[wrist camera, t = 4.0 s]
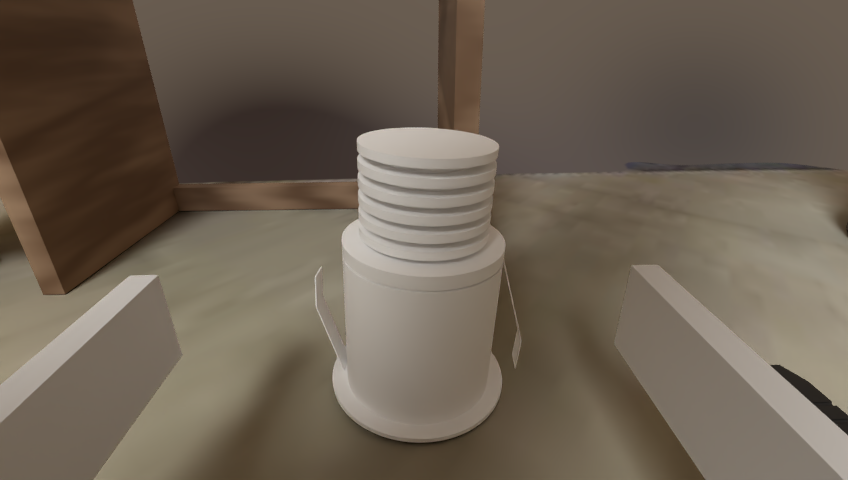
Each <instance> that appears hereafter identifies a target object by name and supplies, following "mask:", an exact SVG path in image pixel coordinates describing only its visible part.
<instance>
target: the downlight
mask: <svg viewBox="0 0 848 480" xmlns="http://www.w3.org/2000/svg"><path fill="white" fill-rule="evenodd" d="M357 151H358V153H359V155H358V157H357V167H358V170H359V173H358V187H359V190H358V202H359V208H358V212H359V219H357V220H355V221H354V222H352V223H351V224H350V225H348V226H347V228H346V229H345V230H344V232H343V234H342V258H343V280H344V303H345V326H346V346H344V344H343V341H342V339H341V337H340V334H339V332H338V330H337V327H336V325H335V322H334V320H333V318H332V315H331V313H330V311H329V308H328V306H327V304H326V301H325V299H324V296H323V275H322V266H321V267H320V269H319V270H318V272H317V274H316V276H315V300H316V309H317V311H318V314H319V316H320V318H321V321H322V323H323V325H324V327H325V330H326V332H327V334H328V337H329V339H330V341H331V343H332V346H333V348H334V350H335V353H336V355H337V359H336V361H335V364H334V368H333V374H332V380H333V389H334V393H335V396H336V398H337V401H338V403H339V404H340V406H341V408H342V409H343V410H344V411H345V413H346V414H347V415H348V416H349V417H350V418H351V419H352V420H354V421H355V422H356V423H357V424H359V425H360V426H362V427H363V428H365V429H367V430H369V431H371V432H373V433H375V434H377V435H380V436H383V437H386V438H389V439H393V440H398V441H404V442H418V443H422V442H435V441H442V440H446V439H450V438H453V437H456V436H459V435H461V434H464V433H466V432H468V431H470V430H472V429H473V428H475V427H476V426H478V425H479V424H481V423H482V422H483V421H484V420H485V419H486V418H487V417H488V416H489V415H490V414H491V413H492V411H493V410H494V408H495V407H496V405H497V403H498V400H499V397H500V394H501V389H502V374H501V369H500V366H499V364H498V362H497V360H496V358H495V356H494V355H493V353H492V352H491V349H492V342H493V334H494V327H495V320H496V312H497V305H498V298H499V290H500V283H501V276H502V268H503V264H504V269H505V273H506V278H507V282H508V287H509V292H510V296H511V301H512V306H513V310H514V315H515V319H516V324H517V332H516V337H515V342H514V346H513V351H512V357H513V362H514V367H515V368H516V366H517V361H518V357H519V352H520V348H521V343H522V340H521V335H520V331H519V326H518V321H517V317H516V312H515V308H514V303H513V298H512V294H511V289H510V284H509V280H508V275H507V270H506V266H505V261H504V254H505V247H506V244H505V240H504V237H503V236H502V234H501V233H500V232H499V231H498V230H497V229H496V228H494V227H493V226H492V225H490V221H491V209H492V204H493V195H492V194H493V192H494V186H495V179H494V177H495V175H496V169H497V162H496V159H497V157H498V151H499V144H498V143H497V142H496V141H494V140H492V139H490V138H488V137H485V136H481V135H478V134H474V133H469V132H463V131H457V130H449V129H438V128H391V129H382V130H376V131H371V132H368V133H365V134H362V135H360V136H359V137H358V138H357Z"/></svg>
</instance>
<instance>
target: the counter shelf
mask: <svg viewBox="0 0 848 480" xmlns="http://www.w3.org/2000/svg"><path fill="white" fill-rule="evenodd" d="M484 8H485V0H439V50H438V53H439V54H438V57H439V58H438V129H449V130H457V131H463V132H469V133H474V134H478V135H479V112H480V91H481V71H482V70H481V69H482V50H483V29H484ZM358 190H359V187H358V182H313V183H233V184H179V182H178V178H177V174H176V170H175V166H174V162H173V159H172V154H171V150H170V146H169V142H168V139H167V135H166V131H165V127H164V123H163V119H162V115H161V111H160V107H159V103H158V100H157V95H156V92H155V87H154V83H153V80H152V76H151V72H150V68H149V64H148V60H147V56H146V52H145V48H144V44H143V40H142V36H141V32H140V28H139V25H138V21H137V17H136V13H135V9H134V5H133V1H132V0H0V197H1V200H2V202H3V204H4V206H5V209H6V211H7V213H8V215H9V218H10V220H11V222H12V224H13V227H14V229H15V231H16V234H17V236H18V238H19V240H20V243H21V245H22V247H23V249H24V252H25V254H26V256H27V258H28V261H29V263H30V265H31V268H32V270H33V272H34V274H35V277H36V279H37V281H38V283H39V286H40V288H41V290H42V292H43V295H49V294H66V293H68V292H69V291H70V290H72V289H73V288H74V287H76V286H77V285H79V284H80V283H81V282H83V281H84V280H85V279H87V278H88V277H89V276H91V275H92V274H94V273H95V272H96V271H98V270H99V269H100V268H102V267H103V266H104V265H106V264H107V263H109V262H110V261H111V260H113V259H114V258H115V257H117V256H118V255H119V254H121V253H122V252H124V251H125V250H126V249H128V248H129V247H130V246H132V245H133V244H135V243H136V242H137V241H139V240H140V239H141V238H143V237H144V236H145V235H147V234H148V233H150V232H151V231H152V230H154V229H155V228H156V227H158V226H159V225H160V224H162V223H163V222H165V221H166V220H167V219H169V218H170V217H171V216H173V215H174V214H175V213H177V212H178V211H207V210H279V209H351V208H359V202H358Z"/></svg>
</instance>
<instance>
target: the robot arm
mask: <svg viewBox="0 0 848 480" xmlns="http://www.w3.org/2000/svg"><path fill="white" fill-rule="evenodd" d="M847 231H848V224H847ZM614 345H615V347H616V348H617V350H618V351H619V352H620V354H621V355H622V357H623V358H624V360H625V361H626V363H627V364H628V366H629V367H630V369H631V370H632V372H633V373H634V375H635V376H636V378H637V379H638V381H639V382H640V384H641V385H642V387H643V388H644V390H645V391H646V392H647V394H648V395H649V397H650V398H651V400H652V401H653V403H654V404H655V406H656V407H657V409H658V410H659V412H660V413H661V415H662V416H663V418H664V419H665V421H666V422H667V424H668V425H669V427H670V428H671V429H672V431H673V432H674V434H675V435H676V437H677V438H678V440H679V441H680V443H681V444H682V446H683V447H684V449H685V450H686V452H687V453H688V455H689V456H690V458H691V459H692V461H693V462H694V464H695V465H696V467H697V468H698V469H699V471H700V472H701V474H702V475H703V477H704V478H705V480H848V415H847V414H846V413H844V412H843V411H842V410H841V409H840V408H839V407H837V406H833V405H832V401H830V400H829V399H828V398H827V397H826V396H825V395H823V394H822V393H821V392H820V391H819V390H818V389H816V388H815V387H814V386H813V385H812V384H810V383H809V382H808V381H806V380H805V379H803V378H801V377H799V376H798V375H796V374H794V373H792V372H791V371H789V370H787V369H785V368H784V367H782V366H780V365H769V364H768V363H767V362H766V361H765V360H764V359H762V358H761V357H760V356H759V355H758V354H757V353H756V352H755V351H754V350H752V349H751V348H750V347H749V346H748V345H747V344H746V343H745V342H744V341H742V340H741V339H740V338H739V337H738V336H737V335H736V334H735V333H734V332H732V331H731V330H730V329H729V328H728V327H727V326H726V325H725V324H724V323H722V322H721V321H720V320H719V319H718V318H717V317H716V316H715V315H714V314H712V313H711V312H710V311H709V310H708V309H707V308H706V307H705V306H704V305H702V304H701V303H700V302H699V301H698V300H697V299H696V298H695V297H694V296H692V295H691V294H690V293H689V292H688V291H687V290H686V289H685V288H684V287H682V286H681V285H680V284H679V283H678V282H677V281H676V280H675V279H674V278H672V277H671V276H670V275H669V274H668V273H667V272H666V271H665V270H663V269H662V268H661V267H660V266H659V265H631V269H630V273H629V278H628V282H627V287H626V291H625V296H624V300H623V305H622V309H621V314H620V318H619V323H618V327H617V331H616V336H615V340H614ZM181 356H182V352H181V348H180V345H179V342H178V339H177V335H176V332H175V329H174V325H173V322H172V319H171V316H170V312H169V309H168V306H167V302H166V299H165V296H164V293H163V289H162V286H161V283H160V279H159V276H158V275H134V276H129V277H127V278H126V279H125V280H124V281H123V282H122V283H120V284H119V285H118V286H117V287H116V288H114V289H113V290H112V291H111V292H110V293H108V294H107V295H106V296H105V297H104V298H103V299H101V300H100V301H99V302H98V303H97V304H95V305H94V306H93V307H92V308H91V309H90V310H88V311H87V312H86V313H85V314H84V315H82V316H81V317H80V318H79V319H78V320H76V321H75V322H74V323H73V324H72V325H71V326H69V327H68V328H67V329H66V330H65V331H63V332H62V333H61V334H60V335H59V336H58V337H56V338H55V339H54V340H53V341H52V342H50V343H49V344H48V345H47V346H46V347H45V348H43V349H42V350H41V351H40V352H39V353H37V354H36V355H35V356H34V357H33V358H31V359H30V360H29V361H28V362H27V363H26V364H24V365H23V366H22V367H21V368H20V369H18V370H17V371H16V372H15V373H14V374H13V375H11V376H10V377H9V378H8V379H7V380H5V381H4V382H3V383H2V384H1V385H0V480H93V479H94V478H95V476H96V475H97V474H98V472H99V471H100V469H101V468H102V467H103V465H104V464H105V462H106V461H107V460H108V458H109V457H110V455H111V454H112V453H113V451H114V450H115V448H116V447H117V446H118V444H119V443H120V441H121V440H122V439H123V437H124V436H125V435H126V433H127V432H128V430H129V429H130V428H131V426H132V425H133V423H134V422H135V421H136V419H137V418H138V416H139V415H140V414H141V412H142V411H143V409H144V408H145V407H146V405H147V404H148V402H149V401H150V400H151V398H152V397H153V395H154V394H155V393H156V391H157V390H158V389H159V387H160V386H161V384H162V383H163V382H164V380H165V379H166V377H167V376H168V375H169V373H170V372H171V370H172V369H173V368H174V366H175V365H176V363H177V362H178V361H179V359H180V358H181Z"/></svg>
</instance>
